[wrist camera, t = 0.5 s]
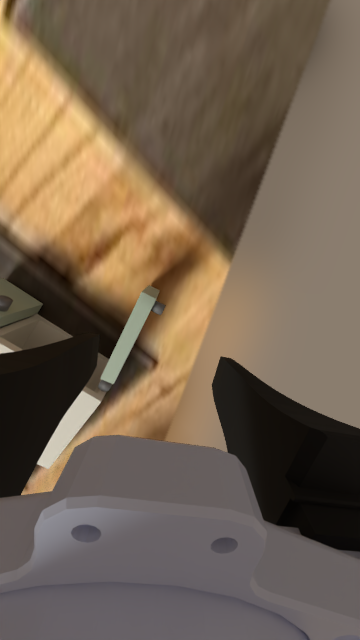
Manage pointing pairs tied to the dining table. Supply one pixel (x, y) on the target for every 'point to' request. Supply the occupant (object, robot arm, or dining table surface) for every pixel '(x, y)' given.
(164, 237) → the dining table surface
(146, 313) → the door
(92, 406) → the cabinet
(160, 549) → the robot arm
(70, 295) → the dining table surface
